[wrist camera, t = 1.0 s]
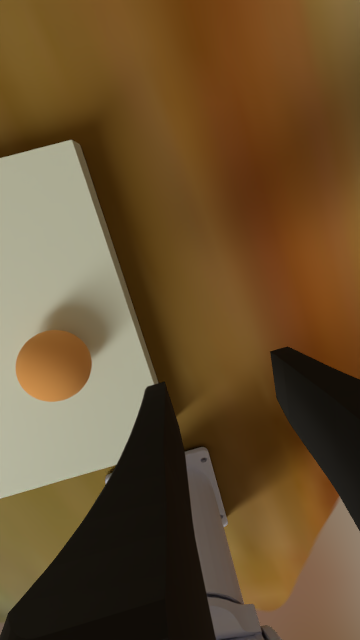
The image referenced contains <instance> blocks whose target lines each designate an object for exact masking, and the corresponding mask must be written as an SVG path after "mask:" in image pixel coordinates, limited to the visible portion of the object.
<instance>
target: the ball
mask: <svg viewBox="0 0 360 640" xmlns="http://www.w3.org/2000/svg"><path fill="white" fill-rule="evenodd" d="M91 368H92V360H91V355H90V352H89V350H88V348H87V346H86V345H85V343H84V342H83V341H82V340H81V339H80V338H78V337H77V336H75V335H74V334H72V333H69V332H66V331H62V330H49V331H45V332H42V333H39V334H37V335H35V336H33V337H32V338H31V339H29V340H28V341H27V342H26V343H25V344H24V346H23V347H22V348H21V350H20V352H19V354H18V356H17V360H16V376H17V379H18V381H19V383H20V385H21V387H22V388H23V389H24V390H25V391H26V392H27V393H28V394H29V395H31V396H32V397H34V398H36V399H38V400H42V401H47V402H56V401H62V400H65V399H68V398H70V397H72V396H73V395H75V394H77V393H78V392H79V391H80V390H81V389H82V388H83V387H84V385H85V384H86V382H87V381H88V379H89V376H90V373H91Z"/></svg>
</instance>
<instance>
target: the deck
mask: <svg viewBox="0 0 360 640" xmlns="http://www.w3.org/2000/svg"><path fill="white" fill-rule="evenodd" d="M49 330H62V331H66V332H69V333H72V334H74V335H75V336H77V337H78V338H80V339H81V340H82V341H83V342H84V343H85V345H86V346H87V348H88V350H89V352H90V355H91V360H92V368H91V373H90V376H89V379H88V381H87V382H86V384H85V385H84V387H83V388H82V389H81V390H80V391H79V392H78V393H77V394H75V395H73V396H72V397H70V398H68V399H65V400H62V401H56V402H47V401H42V400H38V399H36V398H34V397H32V396H31V395H29V394H28V393H27V392H26V391H25V390H24V389H23V388H22V387H21V385H20V383H19V381H18V379H17V376H16V360H17V356H18V354H19V352H20V350H21V348H22V347H23V346H24V344H25V343H26V342H27V341H28V340H29V339H31V338H32V337H33V336H35V335H37V334H39V333H42V332H45V331H49ZM154 384H158V380H157V377H156V374H155V371H154V368H153V365H152V362H151V359H150V356H149V353H148V350H147V347H146V344H145V341H144V338H143V335H142V331H141V328H140V325H139V322H138V319H137V316H136V313H135V310H134V307H133V304H132V301H131V298H130V295H129V292H128V289H127V286H126V283H125V280H124V277H123V274H122V271H121V268H120V264H119V261H118V258H117V255H116V252H115V249H114V246H113V243H112V240H111V237H110V234H109V231H108V228H107V225H106V222H105V219H104V216H103V213H102V210H101V207H100V204H99V201H98V198H97V194H96V191H95V188H94V185H93V182H92V179H91V176H90V173H89V170H88V167H87V164H86V161H85V158H84V155H83V152H82V149H81V146H80V144H78V143H76V142H75V141H73V140H68V141H64V142H61V143H57V144H53V145H49V146H45V147H41V148H38V149H34V150H30V151H26V152H22V153H18V154H14V155H11V156H7V157H3V158H0V498H4V497H7V496H11V495H14V494H17V493H21V492H24V491H28V490H31V489H35V488H38V487H41V486H45V485H48V484H52V483H55V482H59V481H62V480H65V479H69V478H72V477H76V476H79V475H83V474H86V473H89V472H93V471H96V470H100V469H103V468H107V467H110V466H113V465H117V463H118V461H119V459H120V456H121V454H122V452H123V450H124V448H125V445H126V443H127V441H128V439H129V436H130V434H131V431H132V429H133V426H134V423H135V421H136V418H137V415H138V412H139V409H140V406H141V403H142V400H143V396H144V392H145V389H146V388H147V386H151V385H154Z"/></svg>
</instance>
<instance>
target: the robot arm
mask: <svg viewBox="0 0 360 640" xmlns="http://www.w3.org/2000/svg"><path fill="white" fill-rule="evenodd" d="M270 353H271V360H272V368H273V375H274V382H275V390H276V397H277V400H278V402H279V404H280V406H281V408H282V410H283V412H284V413H285V415H286V417H287V419H288V421H289V423H290V424H291V426H292V427H293V429H294V430H295V432H296V433H297V435H298V436H299V437H300V439H301V440H302V442H303V443H304V445H305V446H306V447H307V449H308V450H309V452H310V453H311V455H312V456H313V457H314V459H315V460H316V462H317V463H318V464H319V466H320V467H321V469H322V470H323V472H324V473H325V474H326V476H327V477H328V479H329V480H330V482H331V483H332V485H333V486H334V488H335V489H336V491H337V492H338V494H339V496H340V497H341V499H342V501H343V503H344V504H345V506H346V508H347V510H348V511H349V513H350V515H351V517H352V518H353V520H354V522H355V524H356V525H357V527H358V529H359V531H360V380H359V379H357V378H354V377H352V376H350V375H347V374H345V373H343V372H340V371H338V370H336V369H334V368H332V367H329V366H327V365H325V364H323V363H321V362H319V361H317V360H315V359H313V358H311V357H308V356H306V355H304V354H302V353H300V352H298V351H296V350H294V349H292V348H290V347H284V348H281V349H277V350H274V351H270ZM201 458H203V459H201ZM105 482H106V485H105V487H104V488H103V490H102V492H101V493H100V495H99V497H98V498H97V500H96V501H95V503H94V505H93V506H92V508H91V509H90V511H89V512H88V514H87V515H86V517H85V518H84V520H83V521H82V523H81V524H80V526H79V527H78V528H77V530H76V531H75V532H74V534H73V535H72V537H71V538H70V539H69V541H68V542H67V543H66V545H65V546H64V547H63V549H62V550H61V551H60V553H59V554H58V555H57V557H56V558H55V559H54V560H53V562H52V563H51V564H50V565H49V567H48V568H47V569H46V570H45V571H44V573H43V574H42V575H41V576H40V577H39V578H38V580H37V581H36V582H35V583H34V584H33V585H32V587H31V588H30V589H29V590H28V591H27V592H26V594H25V595H24V596H23V597H22V598H21V599H20V601H19V602H18V603H17V604H16V605H15V606H14V607H13V608H12V609H11V611H10V612H9V613H8V615H7V618H6V621H5V624H4V627H3V630H2V633H1V635H0V640H282V639H281V638H280V637H279V635H278V634H277V632H275V630H274V629H272V627H270V626H267V625H265V626H260V624H259V621H258V617H257V613H256V610H255V606H254V605H253V604H244V602H243V598H242V595H241V591H240V587H239V583H238V580H237V576H236V572H235V568H234V565H233V561H232V557H231V553H230V550H229V546H228V542H227V538H226V535H225V531H224V527H225V526H226V525H227V524H228V521H227V517H226V514H225V510H224V507H223V503H222V499H221V496H220V492H219V489H218V485H217V481H216V478H215V474H214V471H213V467H212V463H211V460H210V456H209V453H208V450H207V448H205V447H199V448H196V449H193V450H189V451H186V452H184V447H183V443H182V438H181V434H180V429H179V425H178V422H177V419H176V416H175V413H174V410H173V406H172V403H171V400H170V397H169V394H168V391H167V387H166V384H165V382H162V383H158V384H154V385H151V386H147V388H146V389H145V392H144V396H143V400H142V403H141V406H140V409H139V412H138V415H137V418H136V421H135V423H134V426H133V429H132V431H131V434H130V436H129V439H128V441H127V443H126V445H125V448H124V450H123V452H122V454H121V456H120V459H119V461H118V463H117V465H116V467H115V469H114V470H113V472H112V473H110V474H108V475H107V476H106V480H105Z"/></svg>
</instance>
